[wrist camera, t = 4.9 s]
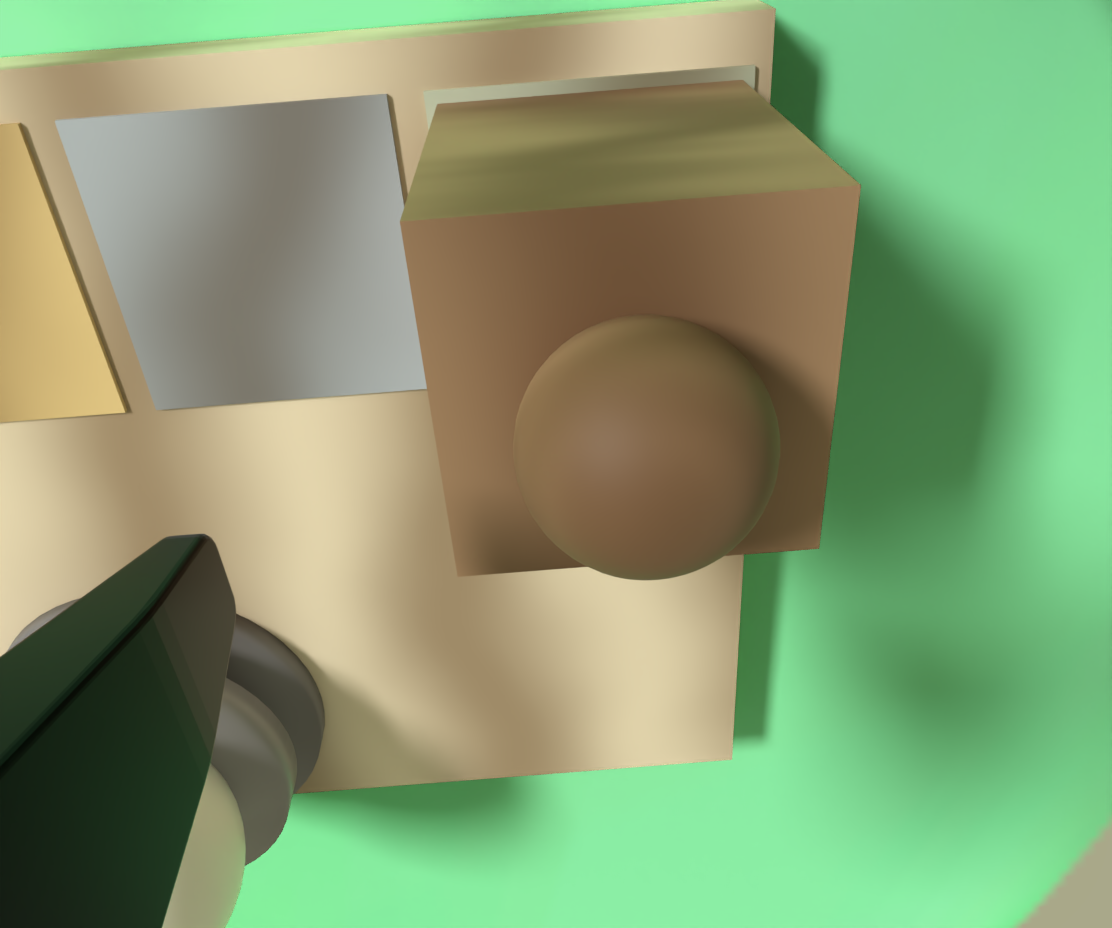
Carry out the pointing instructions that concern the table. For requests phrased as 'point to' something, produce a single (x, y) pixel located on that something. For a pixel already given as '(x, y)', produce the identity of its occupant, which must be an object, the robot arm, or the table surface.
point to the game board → (320, 391)
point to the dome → (234, 810)
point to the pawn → (629, 326)
